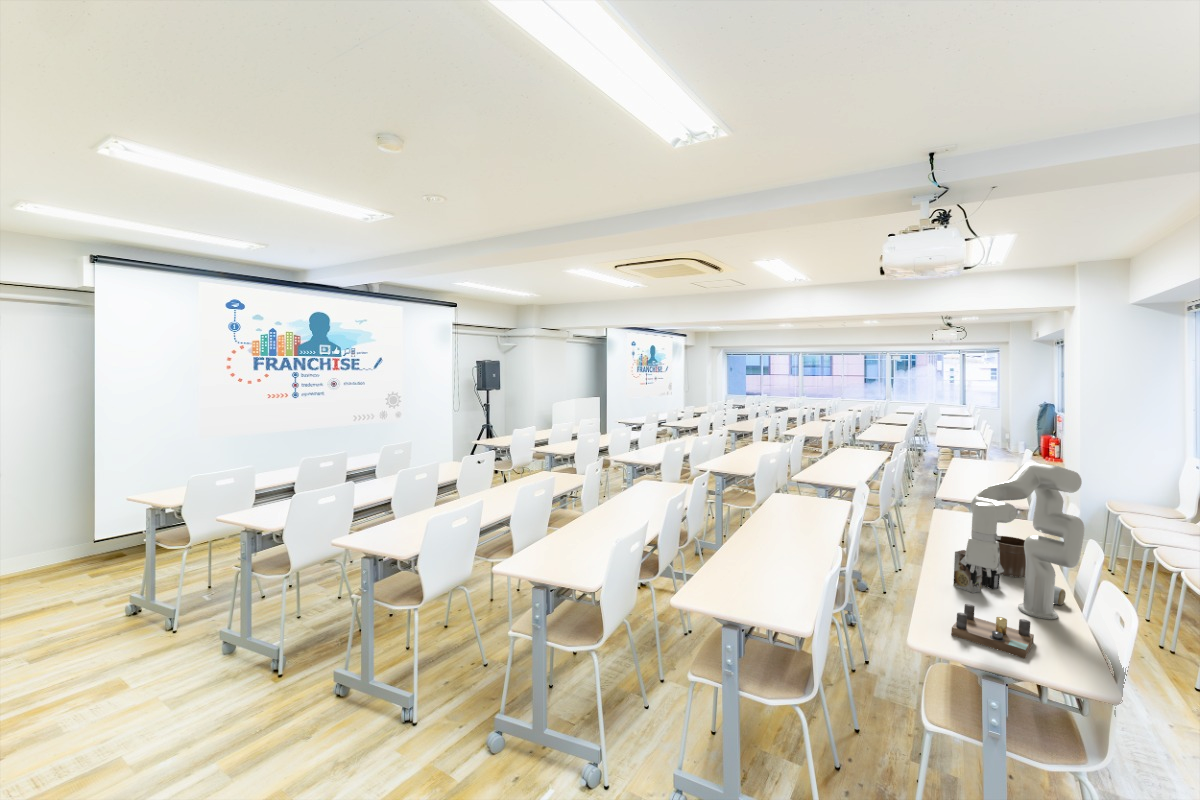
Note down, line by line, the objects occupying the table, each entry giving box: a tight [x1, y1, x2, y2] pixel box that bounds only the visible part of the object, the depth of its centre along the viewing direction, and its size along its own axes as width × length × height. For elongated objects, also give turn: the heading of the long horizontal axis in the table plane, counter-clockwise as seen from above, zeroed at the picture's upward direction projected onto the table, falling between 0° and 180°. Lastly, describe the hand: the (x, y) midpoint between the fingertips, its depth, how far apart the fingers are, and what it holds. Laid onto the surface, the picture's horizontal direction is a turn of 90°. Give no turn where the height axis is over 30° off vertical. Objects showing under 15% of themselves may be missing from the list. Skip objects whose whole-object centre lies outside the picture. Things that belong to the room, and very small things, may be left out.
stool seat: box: [950, 603, 1035, 659], centre depth 200 cm, size 16×22×8 cm
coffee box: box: [953, 549, 983, 594], centre depth 245 cm, size 9×6×16 cm
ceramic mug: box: [1053, 585, 1066, 606], centre depth 232 cm, size 11×8×8 cm
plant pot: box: [996, 535, 1026, 578], centre depth 264 cm, size 16×16×16 cm
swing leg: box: [992, 616, 1008, 640], centre depth 196 cm, size 9×3×5 cm, turn 134°
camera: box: [982, 567, 1001, 590], centre depth 251 cm, size 14×9×10 cm, turn 179°
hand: (980, 583), depth 202 cm, fingers open, 3 cm apart
